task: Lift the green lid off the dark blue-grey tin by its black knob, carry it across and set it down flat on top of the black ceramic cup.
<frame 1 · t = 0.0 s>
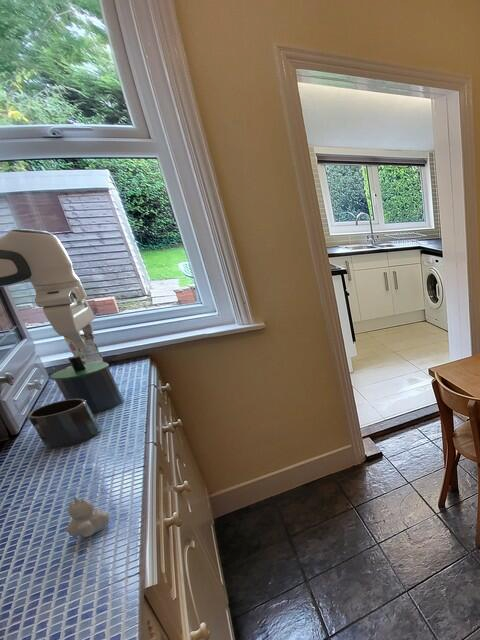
hand: (86, 343, 115), 21 cm above the worktop, tool pointing down, fingers open, 8 cm apart
tin: (99, 406, 125), on the worktop
candy bar box: (97, 376, 150), on the worktop
cup: (74, 438, 108), on the worktop
lid: (81, 371, 121), point 11 cm above the worktop, touching tin
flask: (96, 389, 138), on the worktop
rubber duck: (94, 533, 75), on the worktop
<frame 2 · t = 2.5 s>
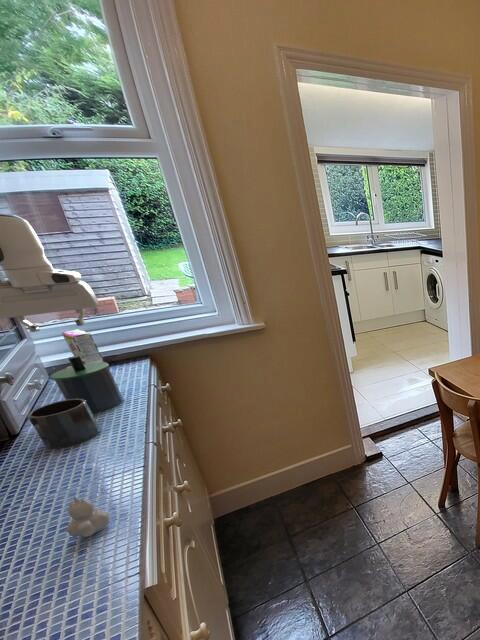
hand: (59, 328, 115), 25 cm above the worktop, tool pointing down, fingers open, 8 cm apart
nothing on the worktop moved.
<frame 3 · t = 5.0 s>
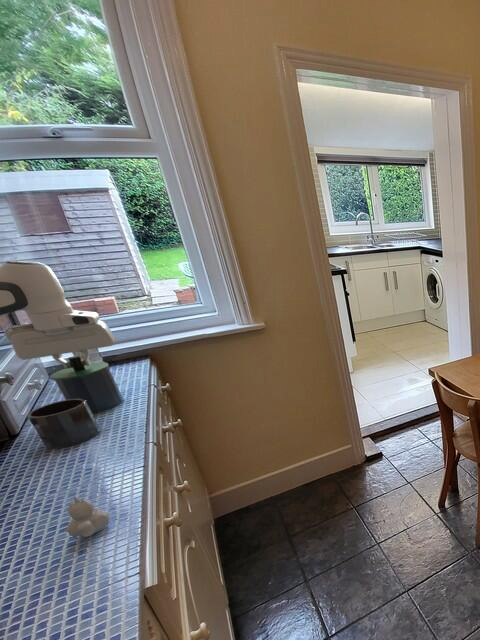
hand: (78, 366, 120), 13 cm above the worktop, tool pointing down, fingers closed on lid, 2 cm apart
lid: (81, 371, 121), point 12 cm above the worktop, touching gripper, tin
everything else where it was.
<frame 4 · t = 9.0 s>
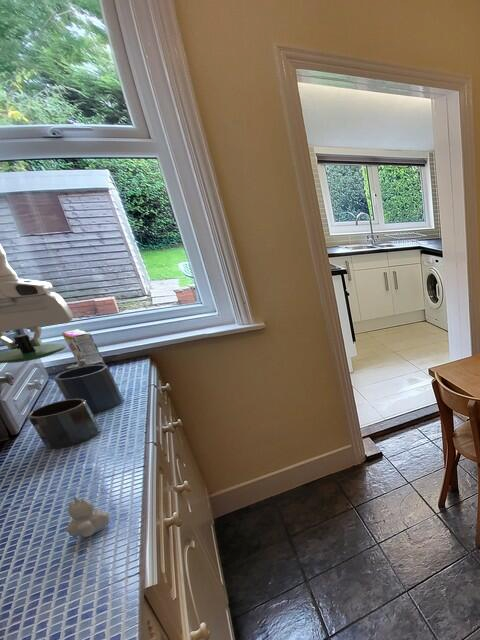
hand: (26, 347, 99), 25 cm above the worktop, tool pointing down, fingers closed on lid, 2 cm apart
lid: (30, 353, 100), point 23 cm above the worktop, touching gripper
everything else where it was.
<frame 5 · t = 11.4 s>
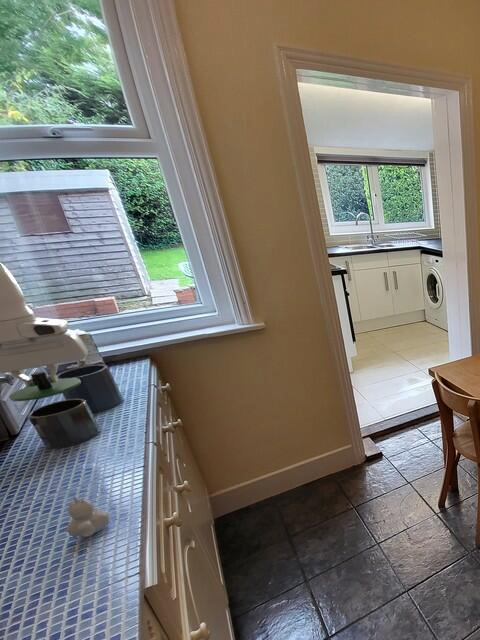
hand: (43, 383, 101), 16 cm above the worktop, tool pointing down, fingers closed on lid, 2 cm apart
lid: (47, 390, 102), point 14 cm above the worktop, touching gripper
everything else where it was.
when the fingers open (10 cm above the worktop, at t = 13.1 s): lid stays where it is, resting on cup.
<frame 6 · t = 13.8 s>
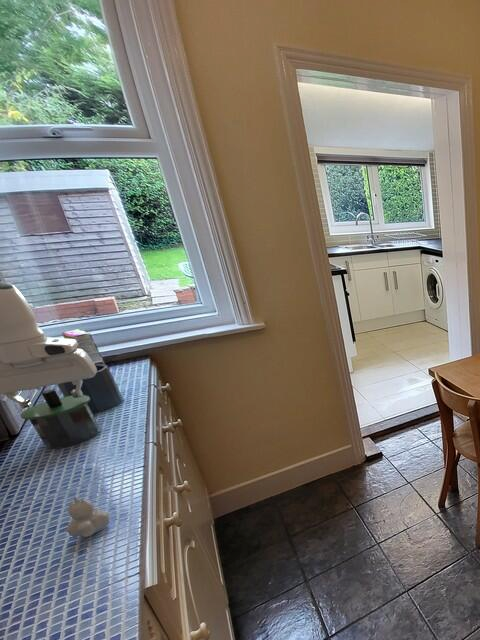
hand: (53, 401, 104), 11 cm above the worktop, tool pointing down, fingers open, 8 cm apart
lid: (57, 407, 104), point 9 cm above the worktop, touching cup
everything else where it was.
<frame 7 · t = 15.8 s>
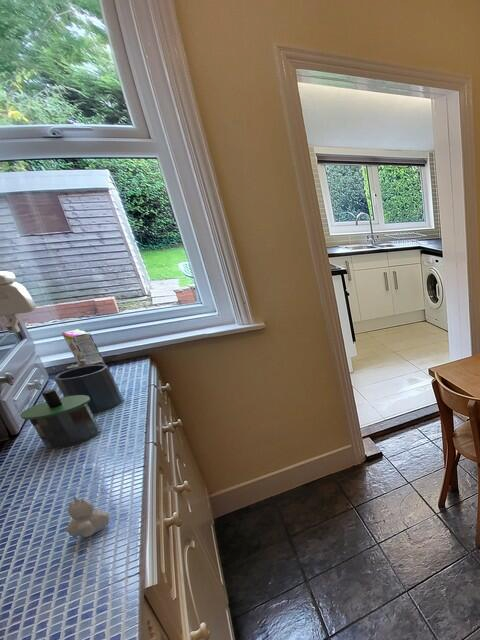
nothing on the worktop moved.
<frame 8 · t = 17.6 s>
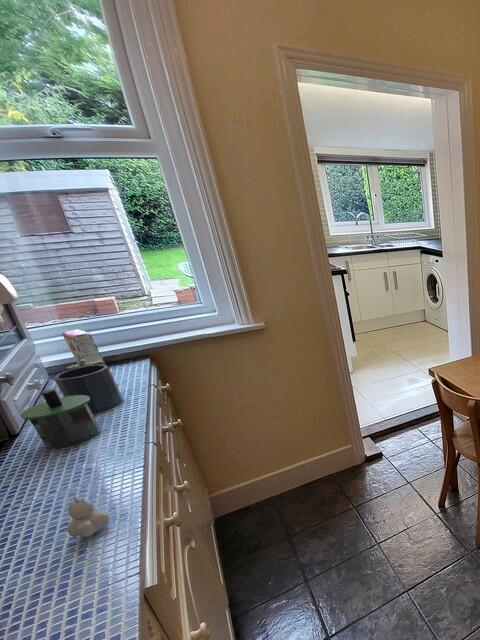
nothing on the worktop moved.
at the end: lid 0.0 cm off-centre on the cup, point 9.0 cm above the cup's base; lid tilted 0°; the gripper is holding nothing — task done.
